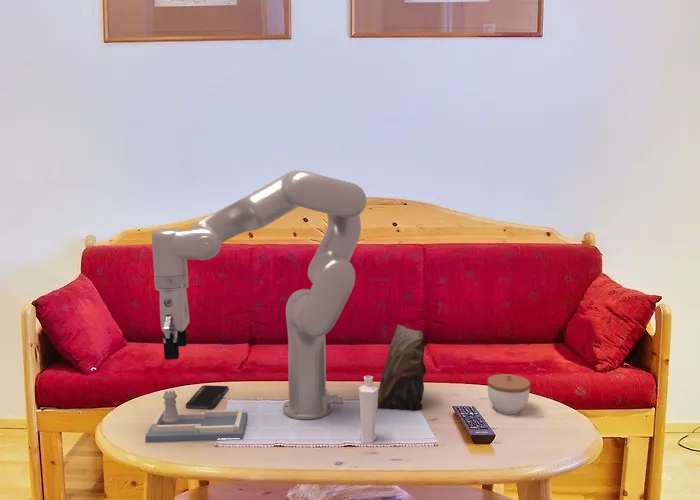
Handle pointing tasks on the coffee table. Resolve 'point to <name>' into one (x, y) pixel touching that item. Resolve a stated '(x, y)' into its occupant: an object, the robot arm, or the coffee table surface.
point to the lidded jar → (508, 392)
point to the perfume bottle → (368, 409)
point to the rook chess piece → (170, 409)
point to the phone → (207, 397)
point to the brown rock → (403, 372)
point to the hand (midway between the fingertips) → (176, 352)
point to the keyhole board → (199, 426)
